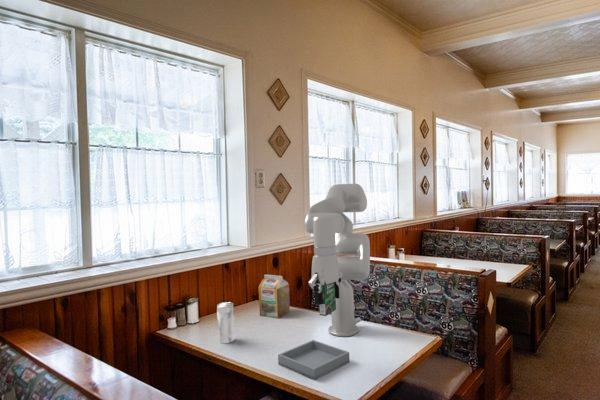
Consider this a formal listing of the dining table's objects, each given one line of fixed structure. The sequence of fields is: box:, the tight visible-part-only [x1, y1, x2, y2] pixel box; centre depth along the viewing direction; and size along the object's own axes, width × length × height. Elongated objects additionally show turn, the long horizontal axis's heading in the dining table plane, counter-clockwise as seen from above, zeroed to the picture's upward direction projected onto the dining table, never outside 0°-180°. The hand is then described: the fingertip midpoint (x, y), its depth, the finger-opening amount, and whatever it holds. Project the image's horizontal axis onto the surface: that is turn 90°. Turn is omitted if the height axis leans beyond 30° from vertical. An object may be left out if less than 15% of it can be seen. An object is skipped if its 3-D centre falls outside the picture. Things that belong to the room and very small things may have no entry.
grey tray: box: [277, 339, 351, 381], centre depth 144 cm, size 18×18×4 cm
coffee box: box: [317, 279, 336, 317], centre depth 143 cm, size 8×3×13 cm, turn 149°
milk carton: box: [258, 274, 291, 319], centre depth 201 cm, size 11×11×19 cm
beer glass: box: [216, 301, 236, 344], centre depth 169 cm, size 7×7×15 cm
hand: (327, 300), depth 143 cm, fingers closed on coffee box, 8 cm apart
